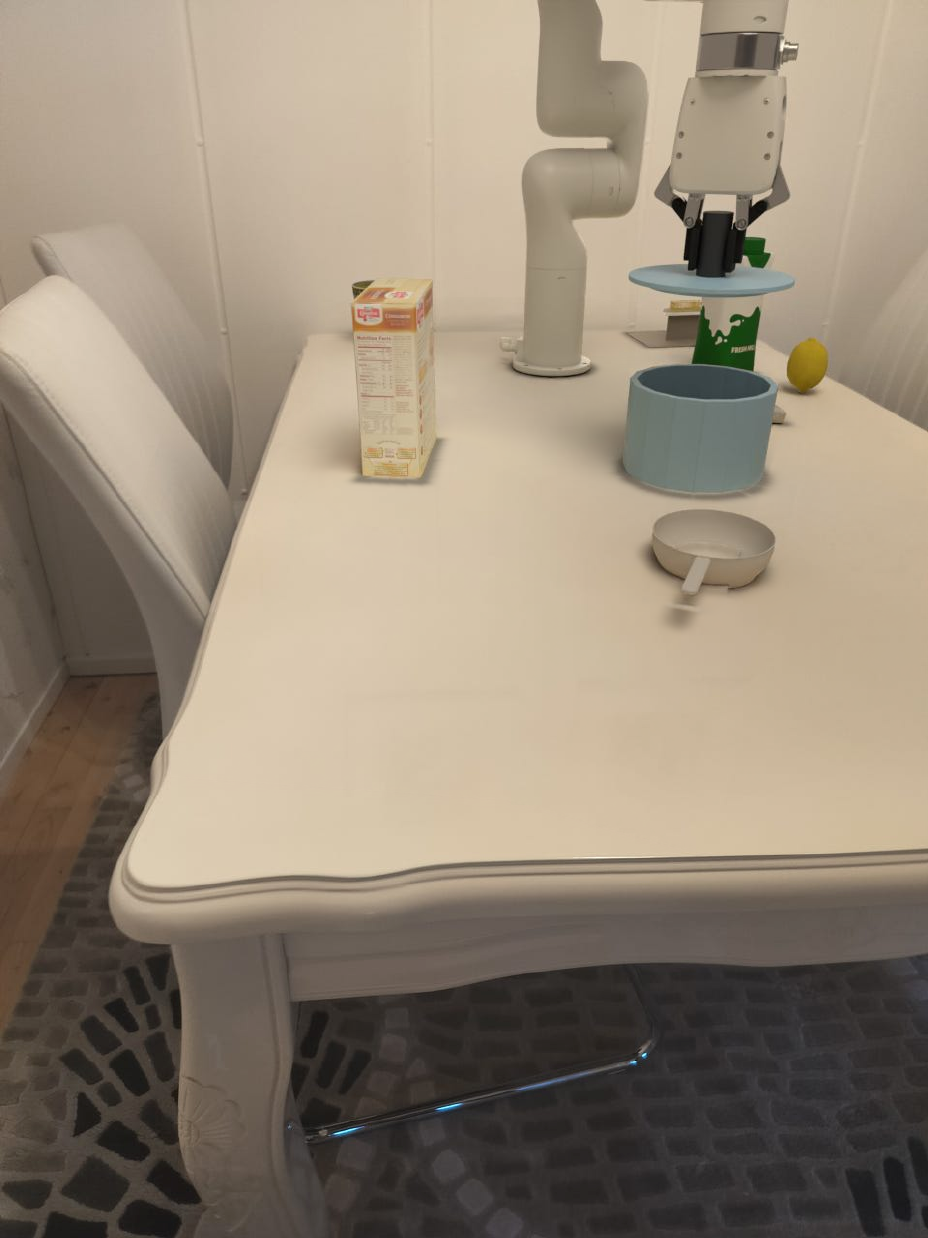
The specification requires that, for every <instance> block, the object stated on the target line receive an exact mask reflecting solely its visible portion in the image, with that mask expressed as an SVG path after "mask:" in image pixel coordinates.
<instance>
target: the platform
mask: <svg viewBox="0 0 928 1238" xmlns="http://www.w3.org/2000/svg"><path fill="white" fill-rule="evenodd" d="M701 301H702V300H701V299H697V300H693V301H691V299H683V300H681V299H679V300H670V304H669V307H668V308H664V309H663V310H662V315H663V316H664V317H667V323H666V331H652V332H650V331H649V332H628V333H627V335H629V336H630V337H632V338H634V339H635V340H637V341H638V342H640V343H642V344H643V345H645V346H646V347H648V348H673V347H693V346H694V347H695V344H696V339H697V332H698V325H699V317H700V309H701ZM685 302H686V303H685Z"/></svg>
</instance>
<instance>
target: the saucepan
mask: <svg viewBox="0 0 928 1238" xmlns="http://www.w3.org/2000/svg"><path fill="white" fill-rule="evenodd" d="M651 543H652V549H653V552H654V553H655V554H654V555H655V556H656V559H657V560H658V562H659V564H660V565H661V567H663V568H664V570H666V571H667V572H668V573H670V574H672V575H674V576H676V577H677V578H680V579H683V580H684V581H683V583H682V585H681V586H680V591H681V593H682V594H685V595H689V596H694V595H696V594H698V592H699V590H700V587H701V585H702V584H705V585H713V586H714V585H715V586H728V587H727V589H735V588H741V587H743V586H746V585H749V584H750V583H752V582H753V581H754V580H755V579H756V577H757V576H758V575H759V574H760V573H762V572H763V571H764V569H765V568H766V567H767V566H768V565H769V563H770V561H771V560H772V557H773V554H774V552H775V546H776V544H777V536H776V533H775V532H774V531H773V530H772V529H771V528H770V527H768V525H766V524H764V523H763V522H761V521H759V520H757V519H754V518H753V517H750V516H748V515H747V516H746V515H743V514H741V513H740V514H739V513H736V512H733V511H726V510H718V509H710V508H709V509H708V508H707V509H706V508H692V509H682V510H677V511H672V512H667V513H666V514H664V515H661V516H659V518H657V519H656V520H655V521H654V522H653V524H652V531H651ZM689 543H706V544H716V545H722V546H726V547H730V548H733V549H735V550H739V551H740V552H739V556H738V557H715V556H714V557H712V556H705V555H699V554H694V553H691V552H688V551H684V550H682V549H678V548H676V547H674V546H678V545H683V544H689Z"/></svg>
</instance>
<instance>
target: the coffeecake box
mask: <svg viewBox="0 0 928 1238" xmlns="http://www.w3.org/2000/svg"><path fill="white" fill-rule="evenodd" d="M374 280H375V281H374V282H373V283H371V284H370V285H369V286H368V287H367V288H366V289H365V290H364V291H363V292H362V293H361V294H360V295H358V296H357V297H356V298H355V299H354V298H353V300H352V301H351V302H350V303H349V305H350V312H351V325H352V339H353V340H352V341H353V352H354V354H353V356H354V369H355V381H356V382H355V383H356V394H357V395H356V396H357V409H358V411H357V412H358V426H359V427H358V428H359V441H360V457H361V458H360V459H361V474H362V476H364V477H365V476H366V477H386V478H387V477H389V478H390V477H391V478H413V479H414V478H417V479H419V478H421V477H422V475H423V473H424V471H425V469H426V466H427V464H428V461H429V459H430V456H431V453H432V451H433V448H434V446H435V443H436V440H437V421H436V420H437V419H436V418H437V417H436V415H437V414H436V372H435V371H436V369H435V334H434V333H435V331H434V297H433V296H434V293H433V290H434V289H433V288H434V287H433V285H434V284H433V283H434V279H427V278H404V277H403V278H401V277H381V278H376V279H374Z"/></svg>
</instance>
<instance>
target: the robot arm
mask: <svg viewBox="0 0 928 1238" xmlns="http://www.w3.org/2000/svg"><path fill="white" fill-rule="evenodd" d="M643 1H646V2H663V3H664V2H665V3H666V2H667V3H669V2H670V3H672V2H673V3H700V4H702V8H701V18H700V27H699V37H698V45H697V56H696V63H695V64H696V65H695V72H694V76H693V77H688V78H687V81H686V83H685V87H684V91H683V94H682V98H681V104H680V108H679V112H678V116H677V117H678V118H677V122H676V127H675V128H676V129H675V133H674V140H673V145H672V152H671V158H670V164H669V166H668V167H667V169H666V171H665V172H664V174H663V176H662V178H661V179H660V181H659V183H658V184H657V187H656V188H655V189H654V191H653V195H654V198H656V199H657V200H659V201H660V202H661V203H663V204H665V205H666V206H668V207H670V208H671V209H672V211H673V212H674V213H675V214H676V215H677V217H678V218H679V219H680V220H681V222H682V223H683V226H684V227H685V228H686V229H685V230H686V231H685V239H684V248H683V257H682V259H683V261H685V262H688V263H687V264H688V271H693V270H695V269H697V260H698V252H699V244H700V235H701V226H702V215H703V209H704V205H705V199H706V195H721V196H722V195H729V196H735V197H736V198H735V219H734V221H733V224H732V230H730V231H729V235H728V243H727V250H726V258H725V265H724V271H726V273H731V272H732V271H734V270H735V265H736V263H739V264H741V262H742V258H743V252H744V245H745V238H746V237H747V231H748V228H749V227H750V226H751V225H752V224H753V223H754V222H755V221H756V220H758V219H759V218H760V217H761V216H762V215H763V214H765V213H766V212H768V211H770V210H772V209H774V208H776V207H778V206H780V205H782V204H784V203H786V202H787V201H789V199H790V198H791V192H790V188H789V186H788V183H787V180H786V176H785V174H784V171H783V168H782V166H781V164H782V156H783V155H782V154H783V146H784V139H785V127H786V118H787V103H788V102H787V101H788V99H787V94H788V93H787V92H788V91H787V90H788V89H787V84H788V83H787V76H781V75H779V70H781V66H784V63H788V62H789V61H790V62H792V61H795V62H796V61H797V59H798V53H799V43H797V42H796V43H791V41H788V40H787V39H786V38H785V36H784V34H785V29H786V23H787V15H788V7H789V2H790V0H643ZM536 2H537V7H538V15H539V39H538V58H537V59H538V60H537V77H536V79H537V82H536V98H535V99H536V102H535V111H536V113H535V114H536V122H537V125H538V128H539V130H540V131H541V132H542V133H543V134H545V135H546V136H549V137H554V138H561V139H562V138H563V139H565V138H566V139H605V140H606V147H604V148H603V147H600V148H597V147H595V148H593V147H592V148H587V147H586V148H585V147H557V148H548V149H543V150H540V151H538V152H536V153H534V154H533V155H531V156H530V157H529V158H528V159H527V160H526V162H525V164H524V166H523V169H522V172H521V173H522V174H521V195H522V201H523V211H524V222H525V224H524V225H525V261H524V262H525V273H524V274H525V275H524V277H525V278H524V302H523V303H524V305H523V335H522V336H519V337H518V338H513V337H506V336H505V337H504V336H502V337H501V338H500V340H499V348H500V350H501V351H502V352H506V353H510V352H512V353H515V355H516V356H515V357H514V358H513V360H512V367H513V368H514V370H516V371H518V372H521V373H523V374H527V375H533V376H540V377H569V376H575V375H576V376H577V375H580V374H583V373H586V372H588V371H590V369H591V364H592V363H591V362H592V361H591V360H590V358H588V357H587V356H585V355H582V354H583V339H584V338H583V337H584V323H585V307H586V305H585V304H586V291H587V290H586V289H587V275H588V274H587V273H588V249H587V246H586V243H585V241H584V239H583V238H582V236H581V234H580V233H579V231H578V230H577V228H576V227H575V224H574V222H575V221H582V220H606V219H607V220H608V219H618V218H623V217H625V216H627V215H628V214H629V213H630V212H632V211H633V208H634V207H635V205H636V202H637V198H638V195H639V190H640V184H641V175H642V166H643V158H644V149H645V141H646V134H647V133H646V132H647V125H648V124H647V123H648V115H649V101H650V100H649V99H650V98H649V97H650V94H649V85H648V80H647V77H646V75H645V72H644V70H643V69H642V67H640V66H639V65H638V64H636V63H634V62H631V61H627V60H602V55H601V54H602V53H601V51H602V50H601V49H602V40H603V27H604V25H603V24H604V23H603V16H602V11H601V9H600V7H599V5H598V3H597V0H536ZM770 190H771V193H770V194H769V195H767V196H764V197H763V198H761V199H759V200H758V201H756V202H755V203H754V204H753V197H754V196H756V195H761V194H764V193H766V192H768V191H770ZM677 192H678V193H682V194H688V197H687V199H686V198H685V197H684V196H681V195H679V194H678V193H677Z"/></svg>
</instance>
